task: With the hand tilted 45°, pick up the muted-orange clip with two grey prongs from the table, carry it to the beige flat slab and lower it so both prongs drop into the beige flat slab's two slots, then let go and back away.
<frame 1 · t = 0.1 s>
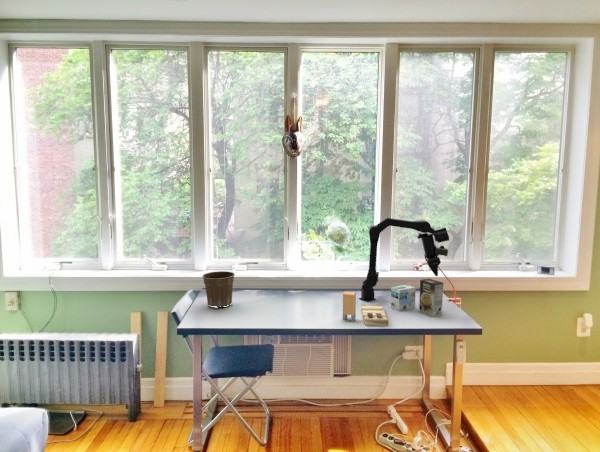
hand: (435, 273, 220), 15 cm above the table, tool pointing down, fingers open, 9 cm apart
light bulb box: (402, 308, 214), on the table
beige flat slab: (374, 321, 195), on the table
clip: (349, 319, 197), on the table
plant pot: (219, 305, 220), on the table
coffee box: (430, 314, 205), on the table
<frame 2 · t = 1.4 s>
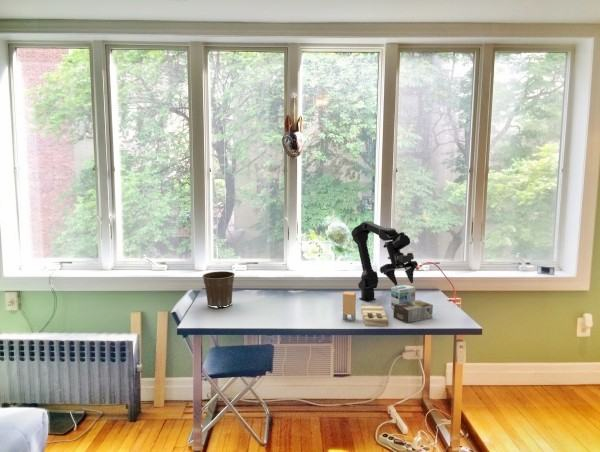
hand: (404, 284, 200), 15 cm above the table, tool tilted 30°, fingers open, 9 cm apart
coffee box: (426, 308, 203), point 3 cm above the table
everything else where it was.
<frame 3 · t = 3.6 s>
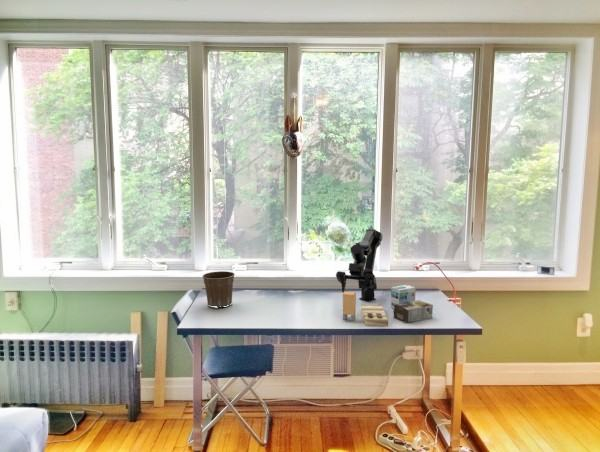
hand: (352, 293, 200), 11 cm above the table, tool tilted 45°, fingers open, 9 cm apart
nothing on the table moved.
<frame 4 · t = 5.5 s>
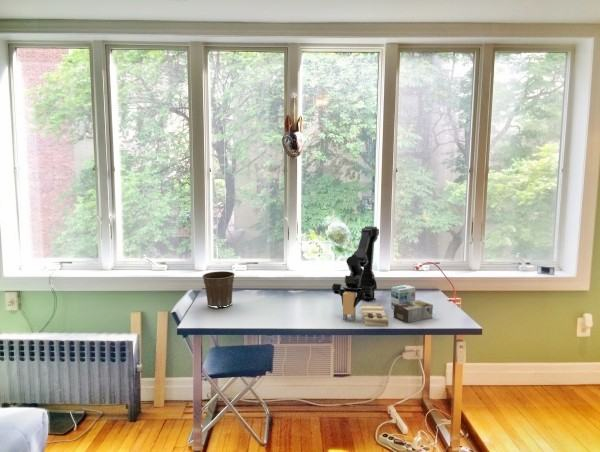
hand: (348, 306, 195), 7 cm above the table, tool tilted 45°, fingers closed on clip, 5 cm apart
clip: (349, 319, 197), on the table, touching gripper
everything else where it was.
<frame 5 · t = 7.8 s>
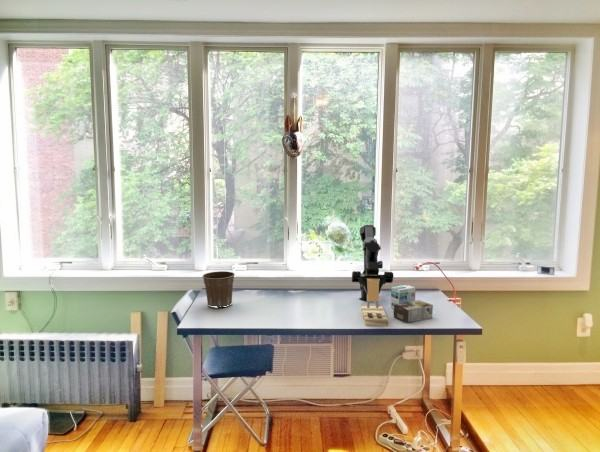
hand: (373, 293, 192), 13 cm above the table, tool tilted 45°, fingers closed on clip, 5 cm apart
clip: (372, 306, 194), point 7 cm above the table, touching gripper
everything else where it was.
when the fingers open (8 cm above the table, at t = 10.3 s): clip drops 1 cm, resting in beige flat slab.
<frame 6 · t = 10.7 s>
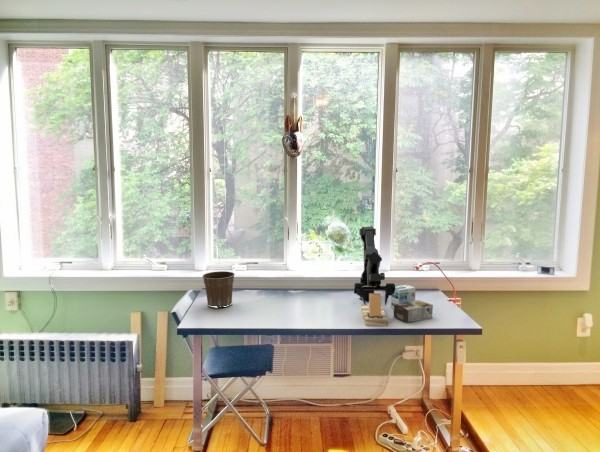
hand: (375, 304, 193), 8 cm above the table, tool tilted 45°, fingers open, 9 cm apart
clip: (374, 321, 195), resting in beige flat slab
everything else where it was.
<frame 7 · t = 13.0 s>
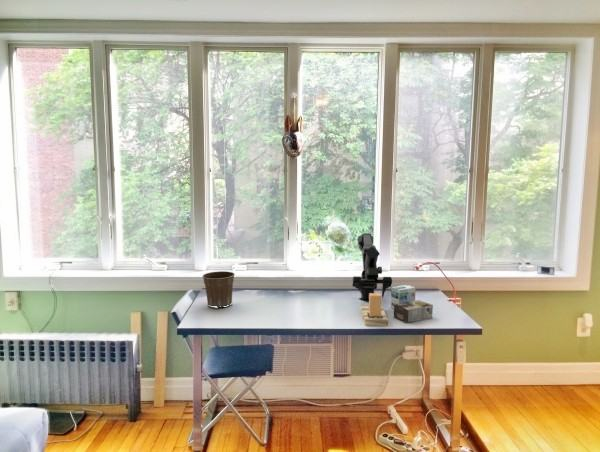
hand: (373, 297, 202), 9 cm above the table, tool tilted 45°, fingers open, 9 cm apart
nothing on the table moved.
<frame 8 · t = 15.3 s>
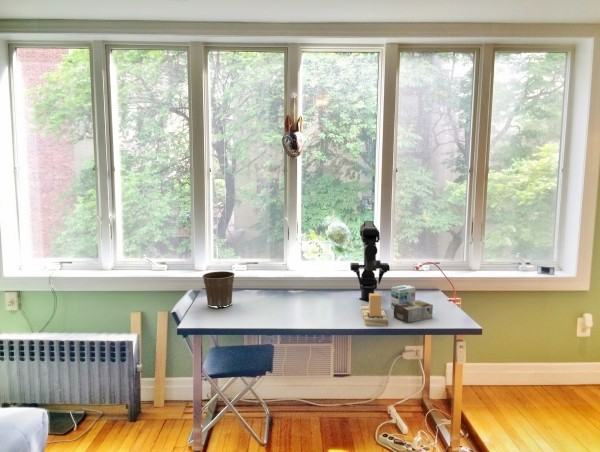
hand: (369, 283, 210), 13 cm above the table, tool pointing down, fingers open, 9 cm apart
nothing on the table moved.
at the end: clip 0.1 cm off-centre on the beige flat slab, point 0.0 cm above the beige flat slab's base; clip tilted 0°; the gripper is holding nothing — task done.
